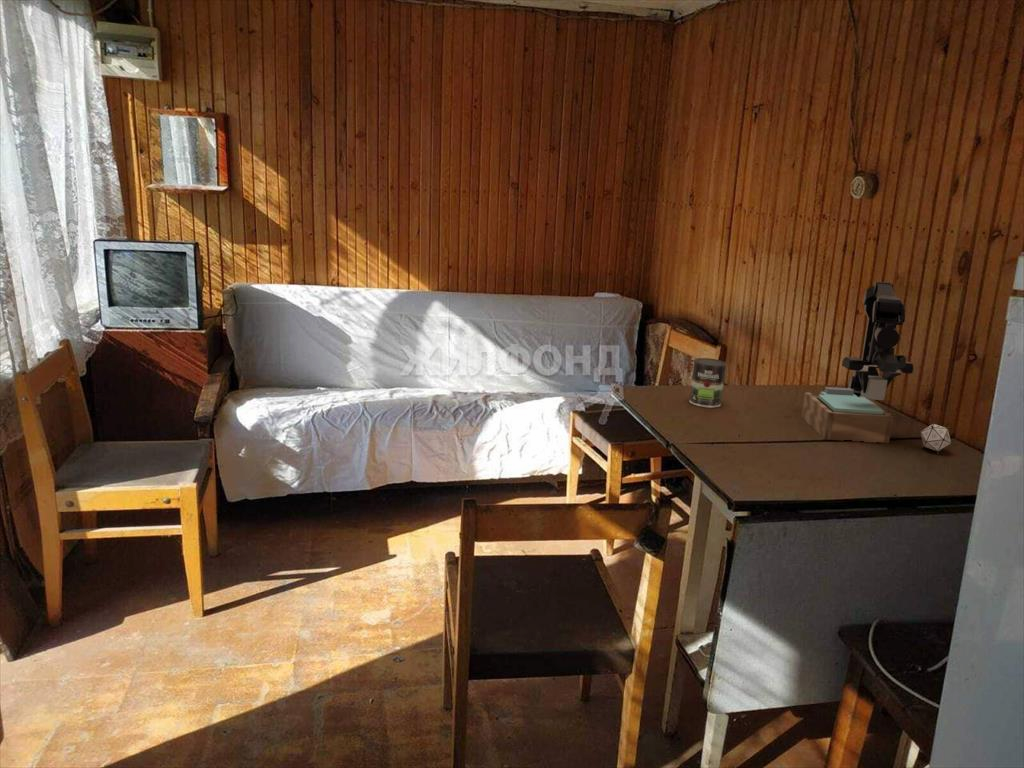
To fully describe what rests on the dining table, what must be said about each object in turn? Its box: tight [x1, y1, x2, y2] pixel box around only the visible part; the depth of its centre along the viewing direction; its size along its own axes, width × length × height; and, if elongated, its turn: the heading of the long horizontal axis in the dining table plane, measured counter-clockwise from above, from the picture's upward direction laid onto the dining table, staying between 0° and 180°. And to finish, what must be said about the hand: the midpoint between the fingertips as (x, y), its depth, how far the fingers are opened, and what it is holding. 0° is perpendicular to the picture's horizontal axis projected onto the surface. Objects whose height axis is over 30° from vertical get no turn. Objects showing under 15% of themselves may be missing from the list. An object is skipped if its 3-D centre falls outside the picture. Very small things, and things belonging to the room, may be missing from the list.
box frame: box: [801, 392, 895, 444], centre depth 236 cm, size 22×18×8 cm
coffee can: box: [688, 357, 728, 409], centre depth 255 cm, size 10×10×14 cm
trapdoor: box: [818, 386, 884, 414], centre depth 235 cm, size 18×14×3 cm
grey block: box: [861, 375, 888, 401], centre depth 230 cm, size 5×5×6 cm
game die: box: [917, 420, 955, 455], centre depth 222 cm, size 9×8×10 cm
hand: (872, 393), depth 231 cm, fingers closed on grey block, 5 cm apart
